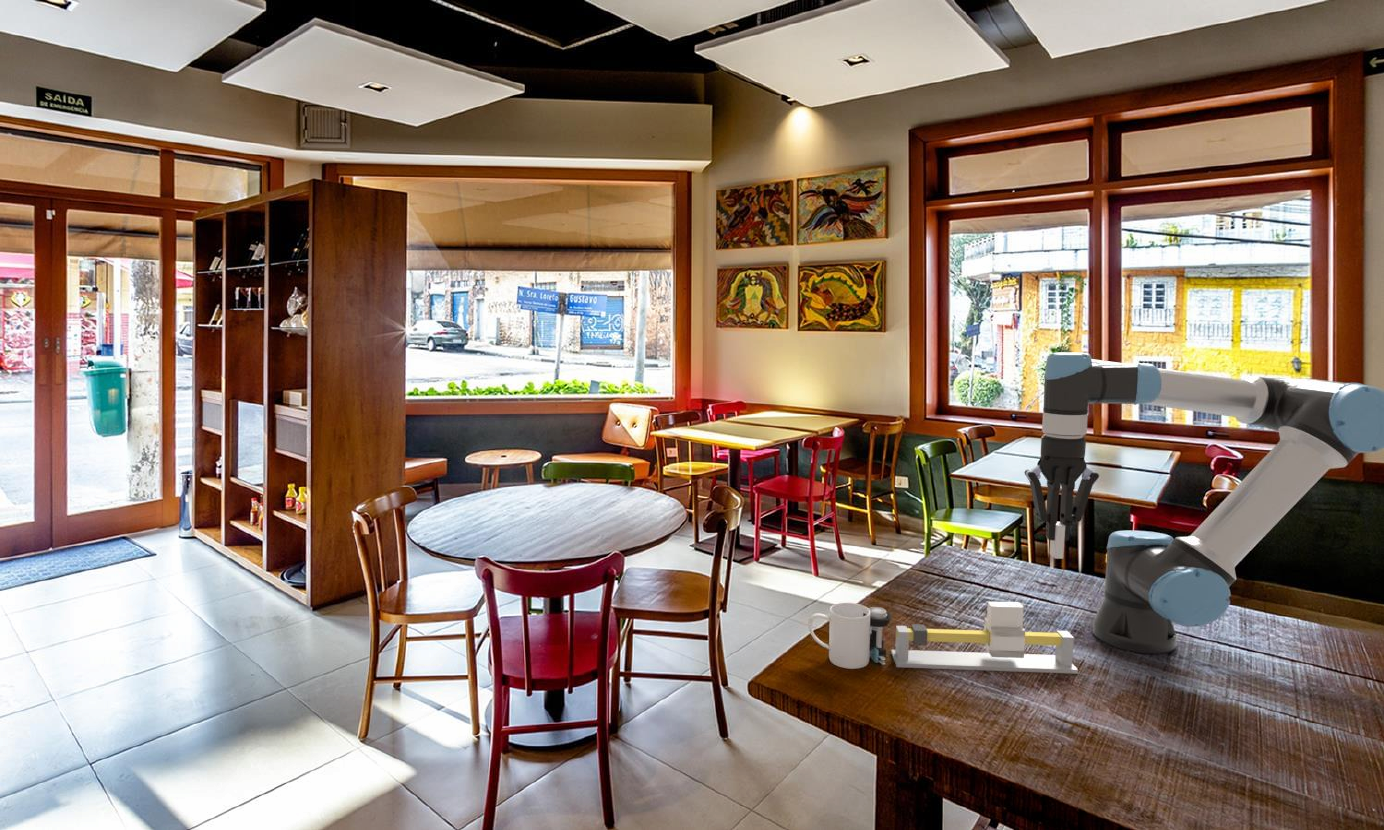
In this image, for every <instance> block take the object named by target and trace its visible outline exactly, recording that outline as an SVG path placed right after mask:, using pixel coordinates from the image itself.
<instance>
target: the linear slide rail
mask: <svg viewBox="0 0 1384 830" xmlns="http://www.w3.org/2000/svg"><path fill="white" fill-rule="evenodd" d="M896 628H897V630H898V639H897V637H896V636H895V643H894V644H895V648H894V649H891V650H890V651H891V656H892V659H893V662H894V663H895V667H896V668H904V669H905V668H908V669H910V668H911V669H935V670H936V669H937V670H939V669H940V670H964V671H965V670H966V671H971V670H972V671H987V672H988V671H990V672H993V671H995V672H996V671H997V672H1019V673H1023V672H1024V673H1049V674H1075V675H1078V674H1079V669H1078V667H1076V666H1075V664H1073V656H1074V640H1075V637H1074V636H1073V635H1072V634H1071V633H1070V632H1069V631H1068V630H1056V633H1059V634H1060V636H1061V637H1062V641H1061V646H1056V645H1055V654H1031V653H1030V654H1029V653H1028V654H1027V653H1024V658H1007V657H991V655H990V654H989V652H974V651H973V652H972V651H970V652H969V651H967V652H966V651H946V650H945V651H944V650H943V651H942V650H941V651H940V650H919V649H918V650H917V649H916V650H915V649H914V650H913V649H909V646H910V641H909V631H908V629H907V628H908V627H907V625H895V629H896Z"/></svg>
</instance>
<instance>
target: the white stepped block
mask: <svg viewBox="0 0 1384 830" xmlns="http://www.w3.org/2000/svg"><path fill="white" fill-rule="evenodd" d="M1024 610H1025V609H1024V605H1022V604H1021V602H1019V601H1018V602H1015V601H1014V602H1013V601H1012V602H1011V601H987V611H986V617H984V618H983V619H984V620H983V621H984V622H983V625H984V626H983V631H989V632H990V633H991V634H990V643H982V645H983V646H984V648H985V649H986V650H987V653H989V654H990V655H991V657H1007V658H1024V654H1025V648H1026V647H1025V646H1026V645H1025V632H1026V629H1025V628H1024V627H1023V625H1024V623H1023V622H1024Z"/></svg>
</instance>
